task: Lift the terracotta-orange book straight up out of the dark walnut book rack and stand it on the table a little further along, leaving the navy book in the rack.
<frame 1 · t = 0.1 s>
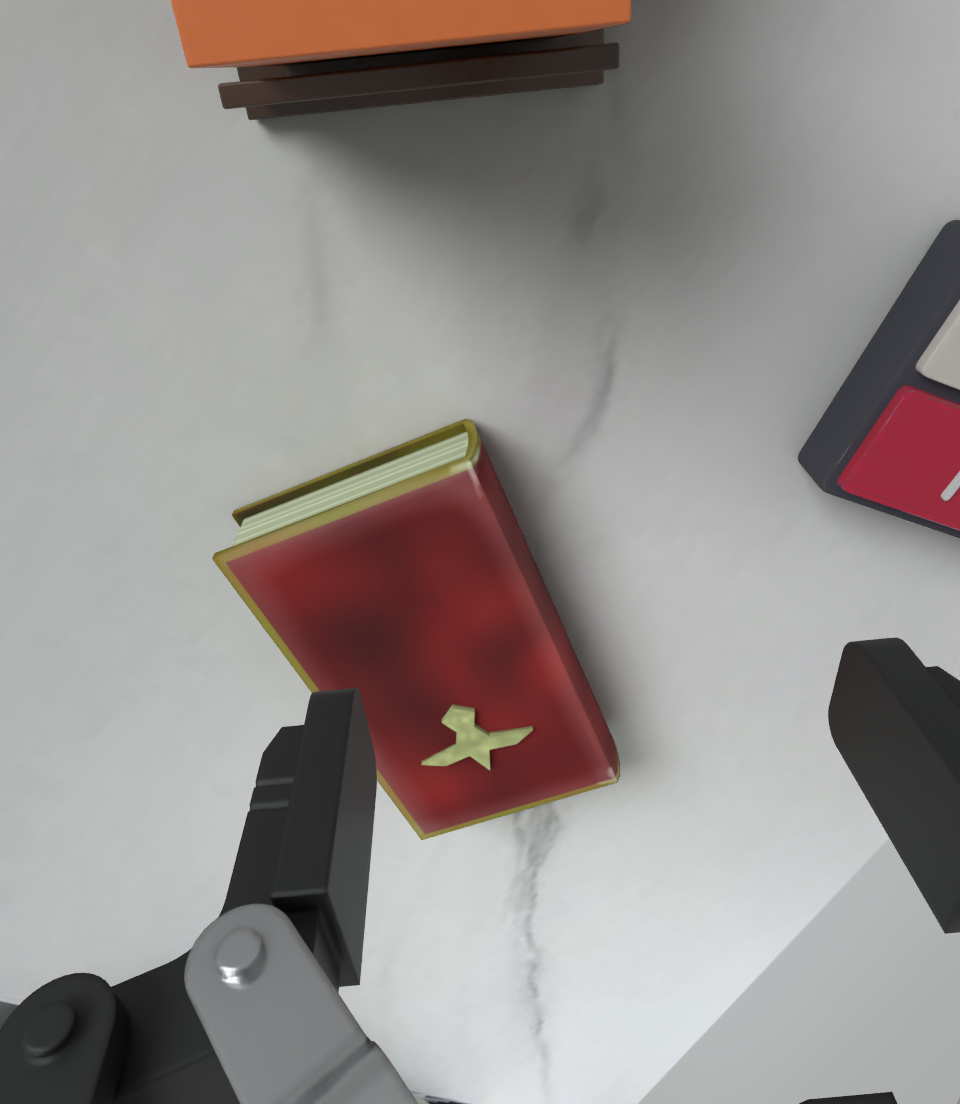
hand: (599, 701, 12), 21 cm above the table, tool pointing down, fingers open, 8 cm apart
hardcover book: (444, 628, 39), on the table
orange book: (414, 2, 23), point 1 cm above the table, touching book rack
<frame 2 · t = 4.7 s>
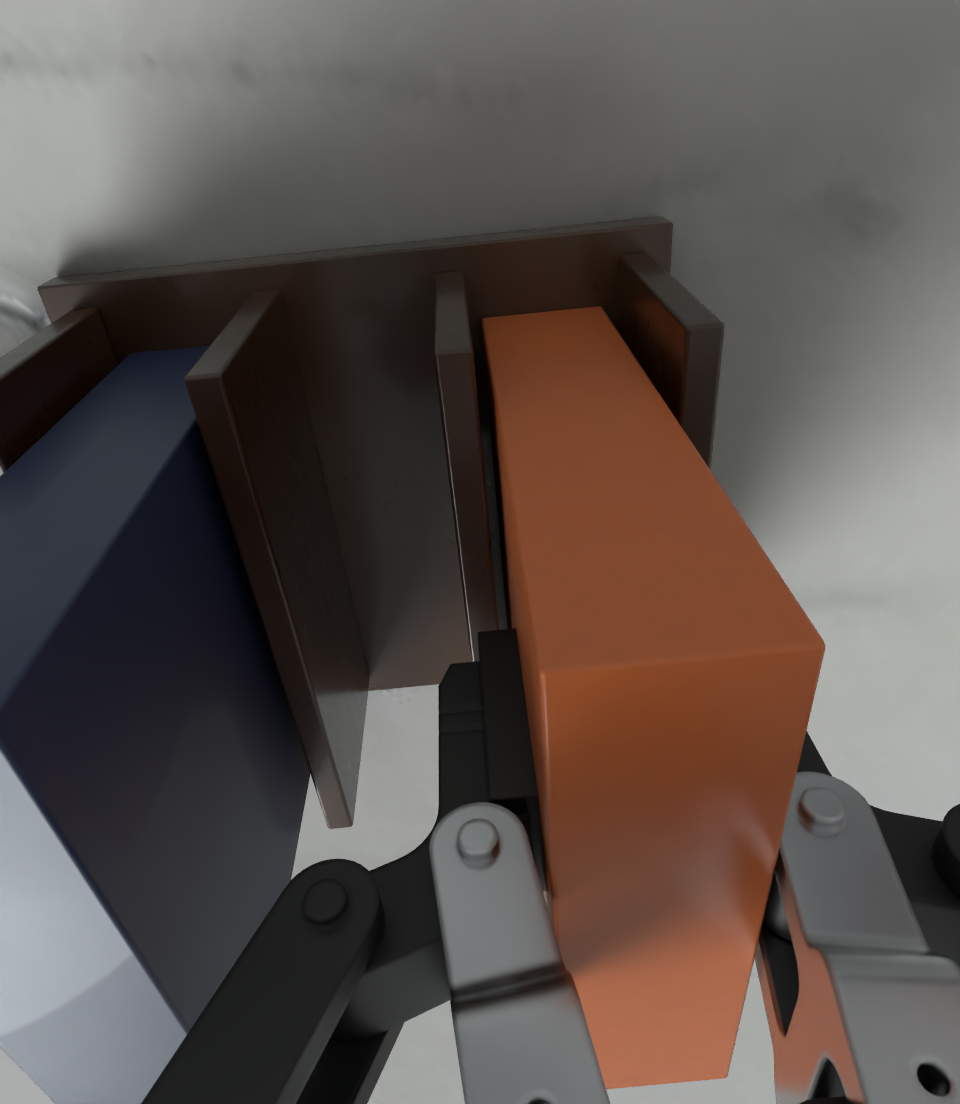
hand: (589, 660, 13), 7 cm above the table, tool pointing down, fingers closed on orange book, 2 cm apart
orange book: (548, 494, 18), point 1 cm above the table, touching book rack, gripper
navy book: (244, 524, 18), point 1 cm above the table, touching book rack
book rack: (398, 493, 19), on the table
when the fingers open (6 cm above the table, at t = 11.4 s): orange book stays where it is, on the table.
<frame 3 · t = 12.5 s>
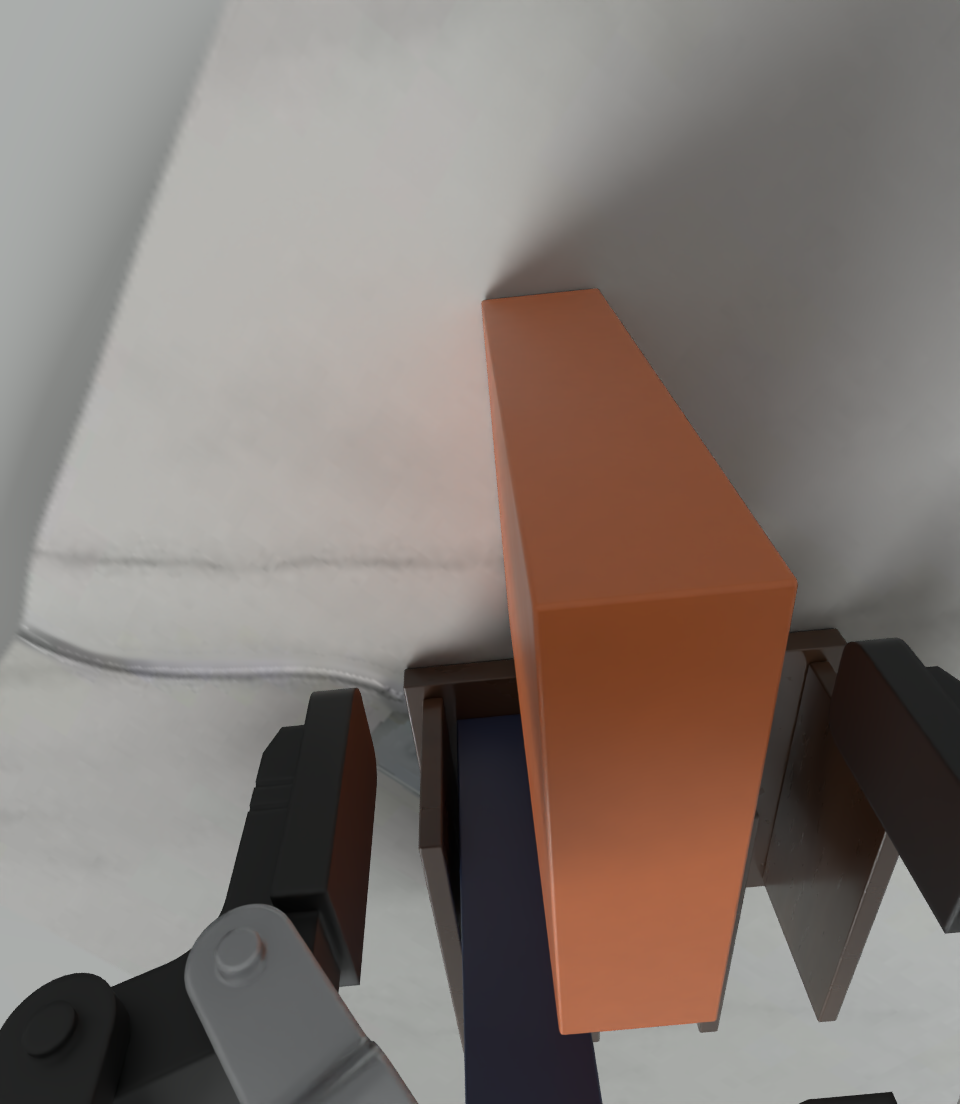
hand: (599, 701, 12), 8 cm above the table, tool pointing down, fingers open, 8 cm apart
orange book: (547, 474, 19), on the table
navy book: (508, 809, 25), point 1 cm above the table, touching book rack
book rack: (616, 779, 25), on the table
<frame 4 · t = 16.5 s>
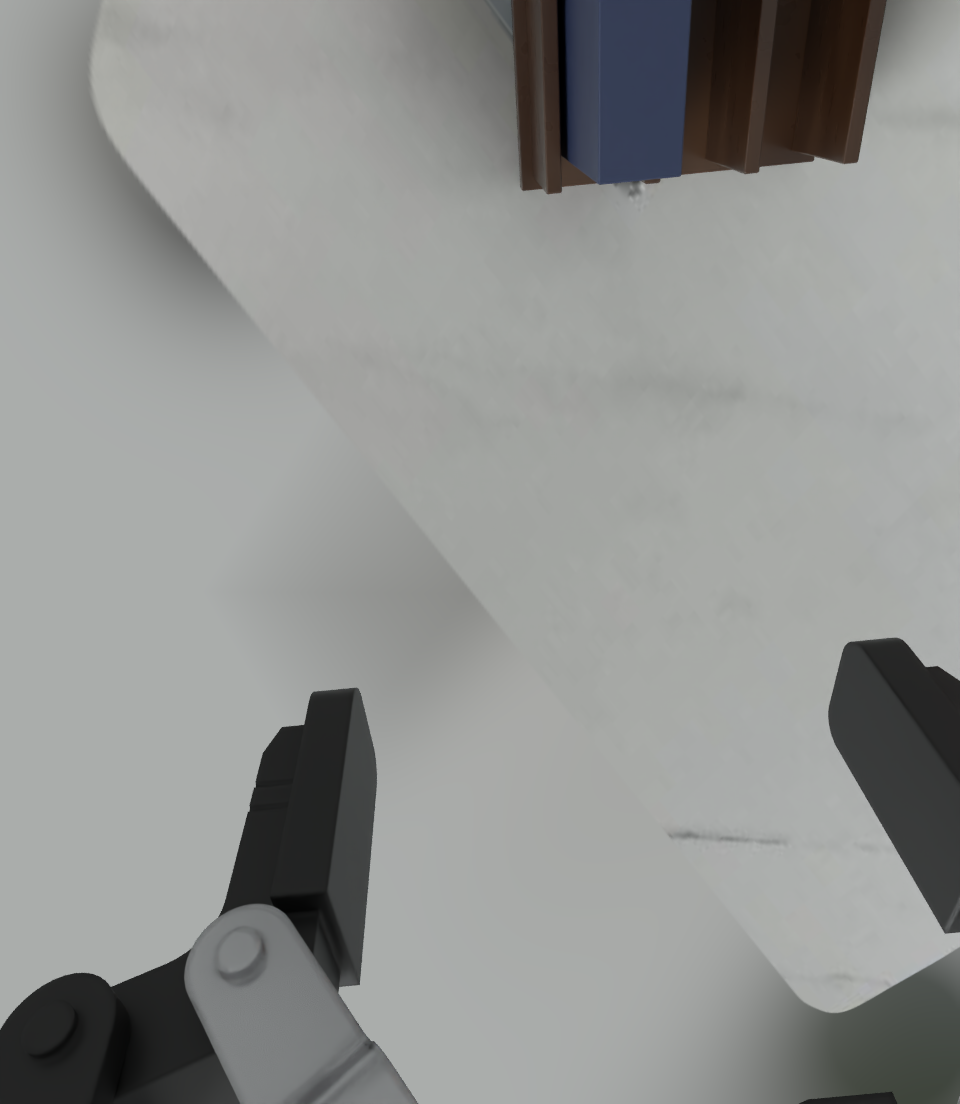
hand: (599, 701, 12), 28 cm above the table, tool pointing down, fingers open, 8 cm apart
navy book: (581, 19, 29), point 1 cm above the table, touching book rack
book rack: (671, 10, 30), on the table
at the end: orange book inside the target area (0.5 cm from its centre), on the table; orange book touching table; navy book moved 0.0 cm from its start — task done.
